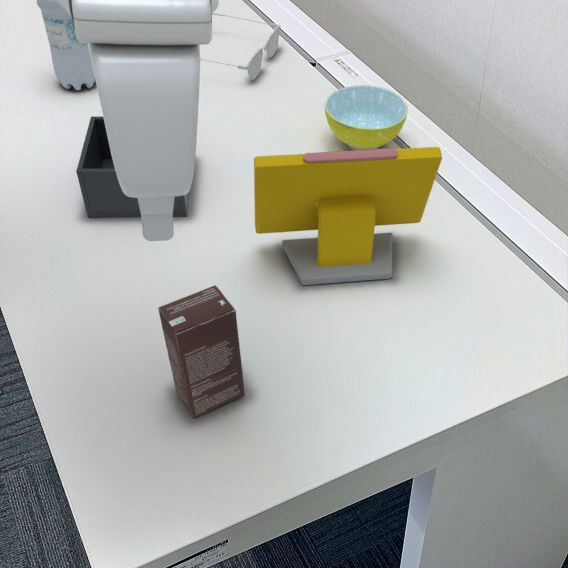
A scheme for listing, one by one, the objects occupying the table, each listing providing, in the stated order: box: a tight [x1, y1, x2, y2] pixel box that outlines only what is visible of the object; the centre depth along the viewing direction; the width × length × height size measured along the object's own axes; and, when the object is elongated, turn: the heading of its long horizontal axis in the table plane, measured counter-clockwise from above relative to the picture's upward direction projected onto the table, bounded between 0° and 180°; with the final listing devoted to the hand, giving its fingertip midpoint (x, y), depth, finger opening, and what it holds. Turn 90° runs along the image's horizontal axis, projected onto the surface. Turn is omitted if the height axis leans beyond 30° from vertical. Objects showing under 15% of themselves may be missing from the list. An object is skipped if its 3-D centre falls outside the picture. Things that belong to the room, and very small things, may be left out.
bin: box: [75, 115, 190, 218], centre depth 98 cm, size 12×12×7 cm
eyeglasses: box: [200, 13, 282, 81], centre depth 124 cm, size 15×18×4 cm
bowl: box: [324, 84, 409, 151], centre depth 108 cm, size 11×12×6 cm
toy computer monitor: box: [253, 146, 443, 286], centre depth 87 cm, size 20×8×16 cm, turn 100°
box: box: [157, 285, 246, 419], centre depth 73 cm, size 6×4×12 cm
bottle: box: [36, 0, 96, 91], centre depth 110 cm, size 7×7×20 cm
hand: (154, 201), depth 50 cm, fingers open, 8 cm apart
